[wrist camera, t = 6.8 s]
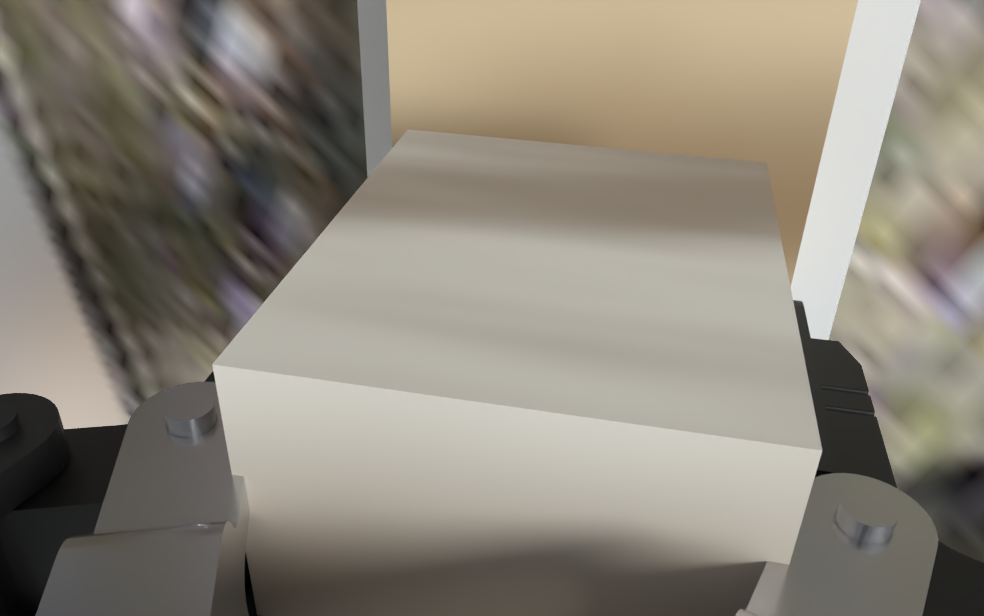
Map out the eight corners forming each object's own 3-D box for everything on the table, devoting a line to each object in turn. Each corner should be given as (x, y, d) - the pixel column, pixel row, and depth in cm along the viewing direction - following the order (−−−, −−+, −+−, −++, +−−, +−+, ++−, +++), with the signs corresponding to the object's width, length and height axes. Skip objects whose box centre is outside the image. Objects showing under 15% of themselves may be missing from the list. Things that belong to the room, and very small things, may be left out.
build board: (358, -242, 18) (341, -243, 17) (967, -228, 16) (984, -229, 15) (387, 320, 25) (376, 340, 25) (808, 374, 24) (813, 397, 23)
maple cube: (407, 129, 12) (211, 364, 7) (766, 162, 12) (822, 451, 7) (415, 405, 15) (275, 719, 10) (708, 448, 14) (718, 810, 9)
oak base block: (440, -75, 18) (383, -43, 15) (829, -54, 17) (861, -14, 14) (443, 255, 23) (400, 336, 19) (756, 290, 21) (767, 385, 18)
